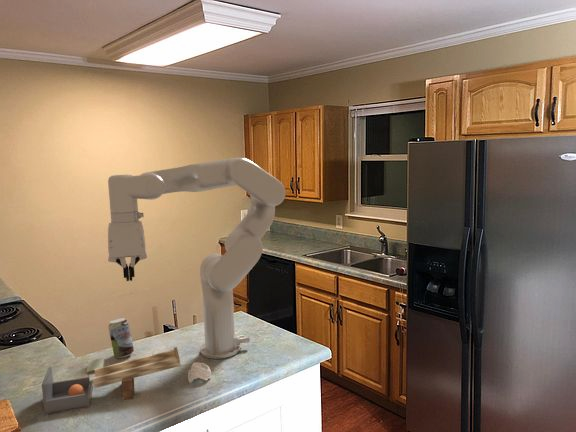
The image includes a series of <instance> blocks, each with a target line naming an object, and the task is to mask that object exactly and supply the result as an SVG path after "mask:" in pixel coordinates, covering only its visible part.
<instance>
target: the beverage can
mask: <svg viewBox="0 0 576 432" xmlns="http://www.w3.org/2000/svg"><path fill="white" fill-rule="evenodd" d="M107 328H108V332H109V337H110V342H111V347H112V348H111V349H112V351H113V356H114V357H115V358H117V359H122V358H126V357H129V356H131V355H132V354H133V352H134V351H135V350H134V349H135V348H134V345H133V339H132V338H133V337H132V333H131V329H130V324H129V321H128V320H127V318H126V317H120V318H115V319H112V320H110V321H109V324H108V327H107Z"/></svg>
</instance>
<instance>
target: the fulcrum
mask: <svg viewBox="0 0 576 432" xmlns="http://www.w3.org/2000/svg"><path fill="white" fill-rule="evenodd" d="M121 393H122V394H121V395H122V398H123V401H129V400H130V401H131V400H134V396H135V378H132V377H131V378H125V379H122V381H121Z"/></svg>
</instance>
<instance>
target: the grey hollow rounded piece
mask: <svg viewBox="0 0 576 432" xmlns="http://www.w3.org/2000/svg"><path fill="white" fill-rule="evenodd" d="M187 375H188V376H187V380H188V382H189V383H190V384H193V382H194V380H197V379H200V380H203V381H205V382H207V381H208V380H210V379H211V378H212V371H211V368H210V366H209V365H207V364H206V363H203V362H193V363H192V364H191V367H190V369H189V370H188V373H187Z"/></svg>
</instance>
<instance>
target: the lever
mask: <svg viewBox="0 0 576 432" xmlns="http://www.w3.org/2000/svg"><path fill="white" fill-rule="evenodd" d="M177 367H181V361H180V354H179V351H178V347H176V346H175V347H174V348H173V349H170V350H165V351H162V352H158V353H155V354H151V355H146V356H142V357H138V358H134V359H131V360H126V361H122V362H121V361H120V362H118V363H113V364H110V365H106V366H105V357H100V358H96V359H92V360H89V361H88V365H87V368H86V369H87V370H86V373H87V376H90V375H93V374H95V377H93V378H92V383H93V388H94V389H97V388H100V387H104V386H108V385H112V384H116V383H119V382H122V379H125V378H131V377H132V378H134V379H135V378H139V377H143V376H146V375H150V374H154V373H159V372H162V371H166V370H170V369H174V368H177Z"/></svg>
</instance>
